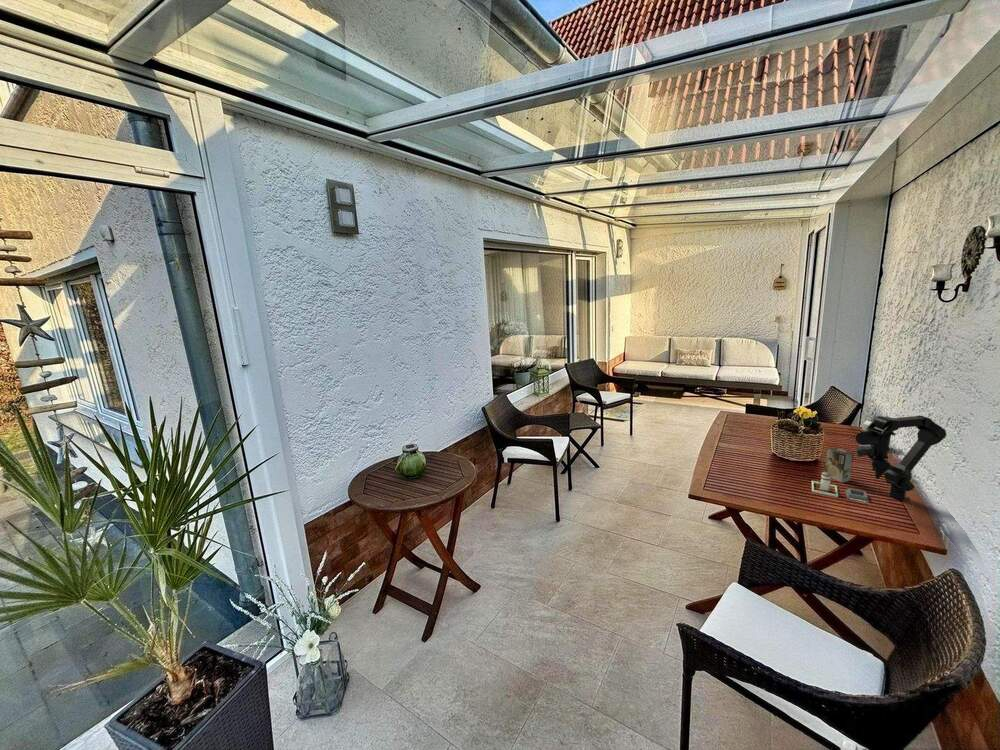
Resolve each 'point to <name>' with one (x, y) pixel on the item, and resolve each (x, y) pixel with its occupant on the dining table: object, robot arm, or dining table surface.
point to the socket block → (857, 495)
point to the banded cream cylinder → (825, 481)
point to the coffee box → (839, 464)
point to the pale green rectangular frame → (824, 492)
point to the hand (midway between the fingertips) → (875, 474)
